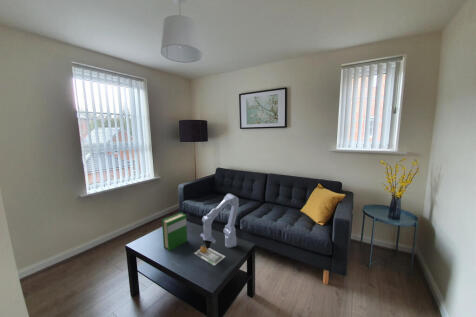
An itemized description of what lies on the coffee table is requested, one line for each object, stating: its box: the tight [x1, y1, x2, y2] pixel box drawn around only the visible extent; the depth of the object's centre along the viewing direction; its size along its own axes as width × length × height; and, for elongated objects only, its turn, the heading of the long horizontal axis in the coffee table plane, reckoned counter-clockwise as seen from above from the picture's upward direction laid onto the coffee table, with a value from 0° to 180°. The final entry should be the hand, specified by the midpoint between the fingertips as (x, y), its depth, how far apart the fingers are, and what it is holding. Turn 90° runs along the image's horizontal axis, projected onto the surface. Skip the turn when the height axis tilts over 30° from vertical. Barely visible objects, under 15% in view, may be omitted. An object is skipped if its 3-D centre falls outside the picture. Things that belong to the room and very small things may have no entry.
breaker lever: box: [200, 243, 207, 254], centre depth 148 cm, size 4×3×5 cm
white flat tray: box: [193, 247, 226, 267], centre depth 145 cm, size 12×22×2 cm, turn 53°
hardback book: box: [161, 212, 188, 252], centre depth 159 cm, size 18×7×24 cm, turn 141°
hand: (208, 248), depth 145 cm, fingers closed
